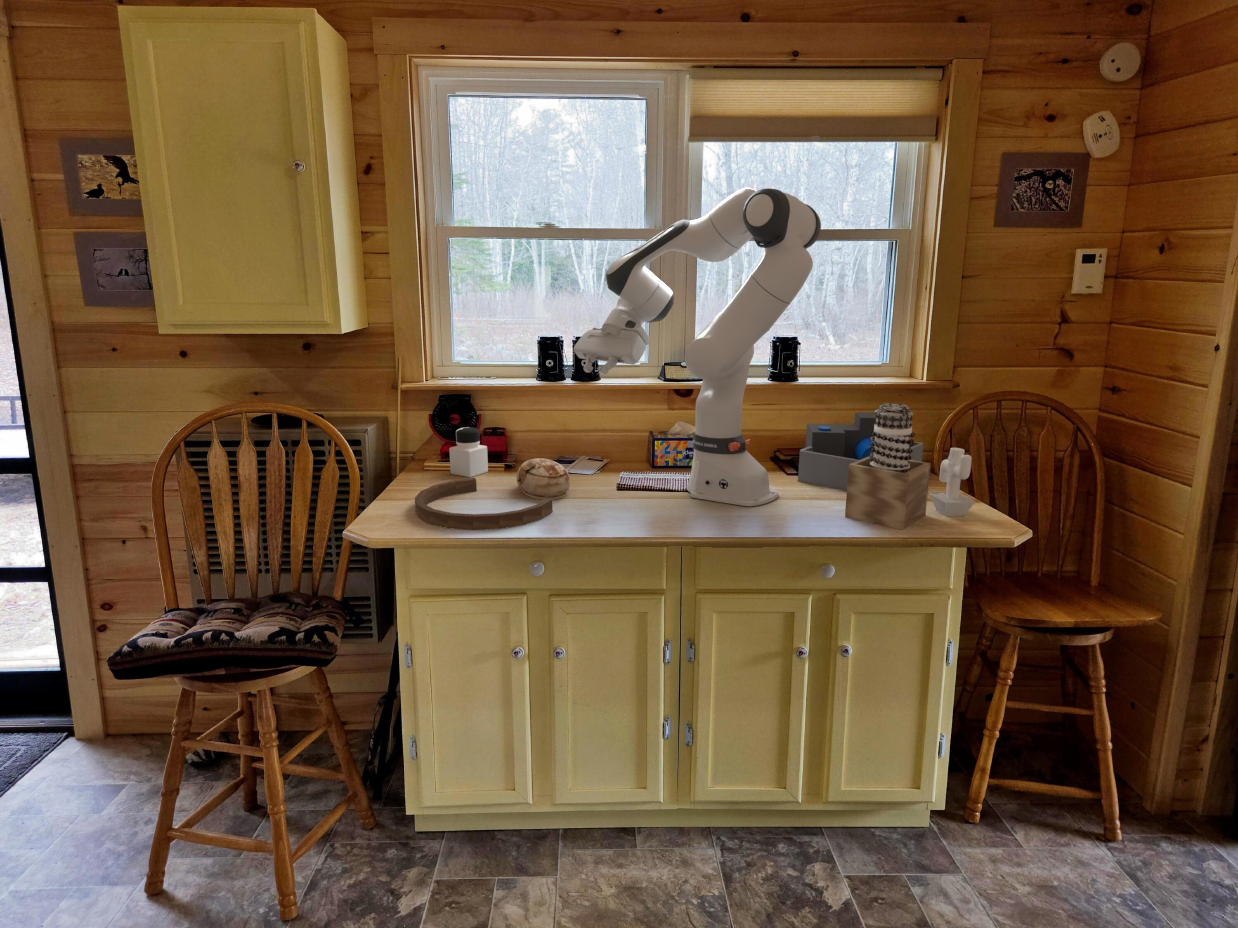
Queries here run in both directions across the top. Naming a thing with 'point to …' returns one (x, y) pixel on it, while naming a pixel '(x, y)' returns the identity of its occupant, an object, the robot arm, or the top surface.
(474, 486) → the brown curved arc
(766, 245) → the robot arm
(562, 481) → the trinket box
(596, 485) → the top surface
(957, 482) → the figurine
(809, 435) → the camera
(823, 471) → the tray
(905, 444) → the decorative candle
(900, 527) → the wooden box
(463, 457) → the medicine bottle
